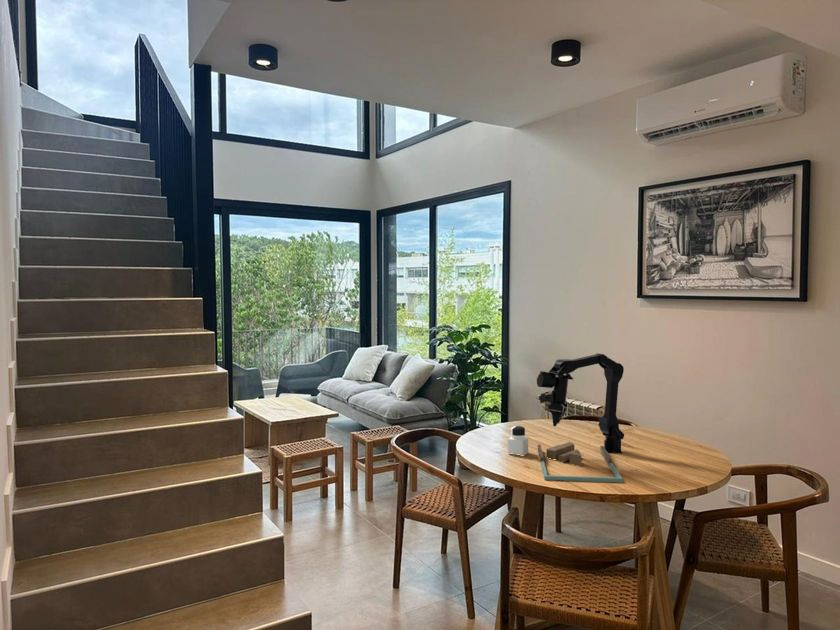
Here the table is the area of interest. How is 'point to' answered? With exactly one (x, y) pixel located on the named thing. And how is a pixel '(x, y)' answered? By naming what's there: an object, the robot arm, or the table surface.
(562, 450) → the wooden block set
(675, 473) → the table surface
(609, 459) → the pair of brown bars
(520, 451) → the medicine bottle
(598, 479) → the frame
